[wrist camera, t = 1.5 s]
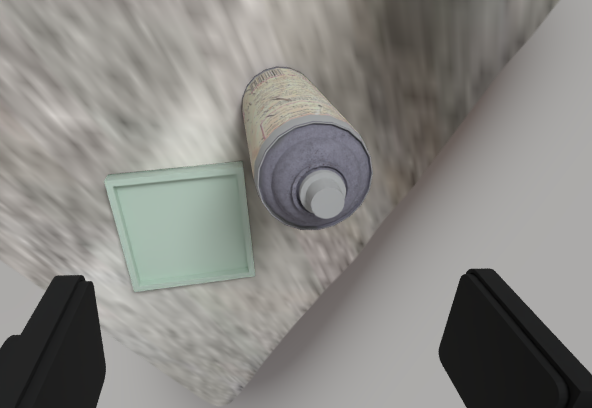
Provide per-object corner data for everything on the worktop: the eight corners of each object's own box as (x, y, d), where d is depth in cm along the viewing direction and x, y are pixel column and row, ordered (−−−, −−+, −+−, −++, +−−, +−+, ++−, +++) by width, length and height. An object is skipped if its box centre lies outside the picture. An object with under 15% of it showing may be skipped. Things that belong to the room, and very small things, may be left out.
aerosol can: (227, 119, 39) (232, 228, 21) (267, 50, 37) (308, 109, 19) (291, 154, 41) (343, 279, 24) (331, 92, 39) (421, 178, 22)
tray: (242, 161, 41) (243, 166, 40) (254, 267, 46) (255, 276, 45) (108, 174, 40) (104, 181, 38) (136, 283, 45) (134, 292, 44)
